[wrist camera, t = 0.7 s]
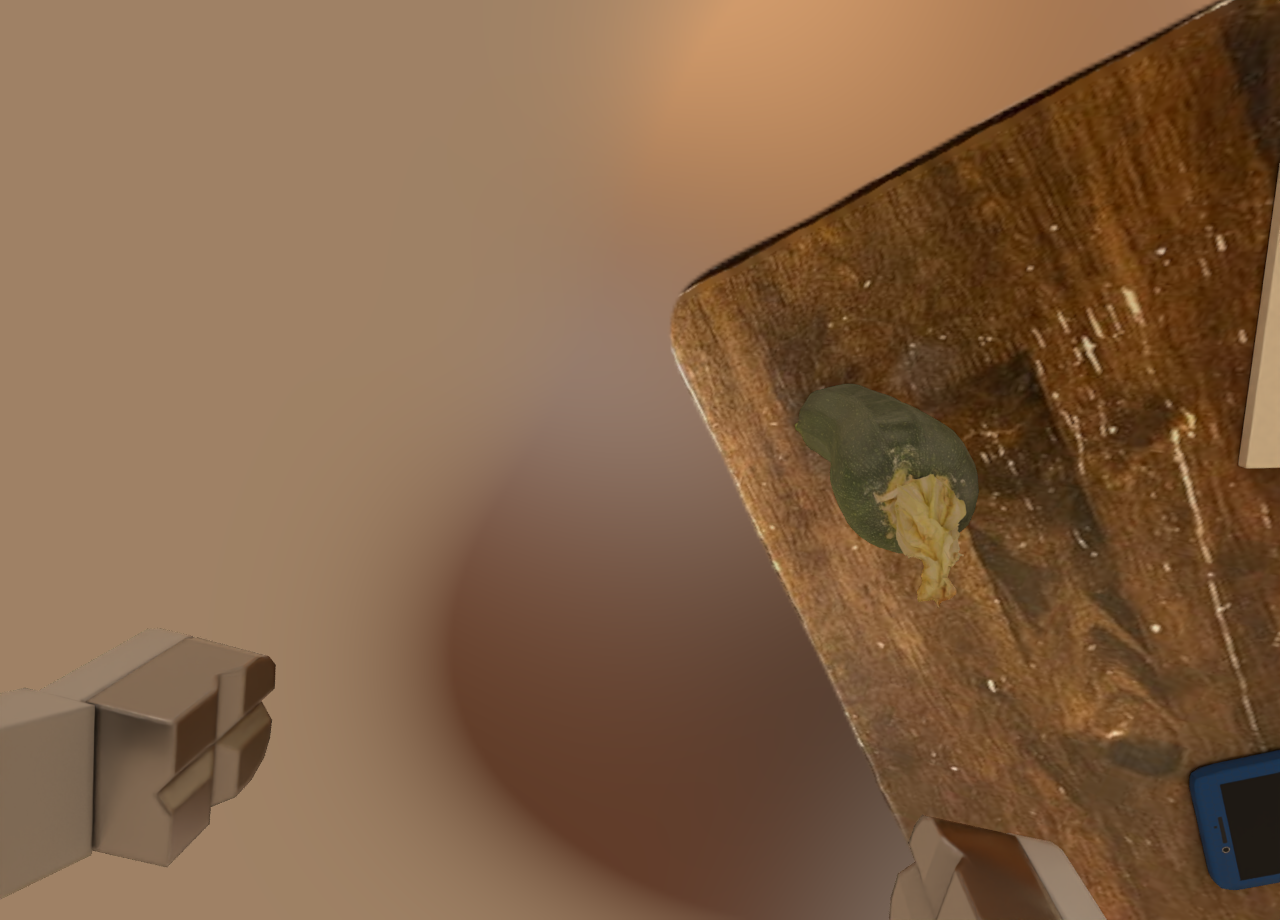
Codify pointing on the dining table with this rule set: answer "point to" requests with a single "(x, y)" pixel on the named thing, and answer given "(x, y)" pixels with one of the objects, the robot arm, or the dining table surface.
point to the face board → (1265, 365)
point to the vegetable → (895, 476)
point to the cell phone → (1240, 819)
